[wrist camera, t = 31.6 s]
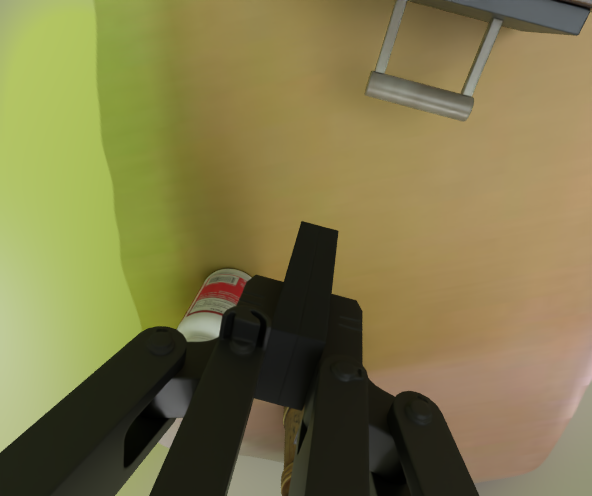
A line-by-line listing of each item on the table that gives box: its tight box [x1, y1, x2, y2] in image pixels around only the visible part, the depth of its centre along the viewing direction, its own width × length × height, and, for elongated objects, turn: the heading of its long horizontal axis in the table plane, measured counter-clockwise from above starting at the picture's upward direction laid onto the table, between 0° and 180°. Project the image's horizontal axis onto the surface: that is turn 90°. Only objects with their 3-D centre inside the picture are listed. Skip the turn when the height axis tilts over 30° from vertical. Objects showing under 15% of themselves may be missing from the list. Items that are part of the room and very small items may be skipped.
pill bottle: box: [177, 269, 252, 342], centre depth 39 cm, size 6×6×11 cm
